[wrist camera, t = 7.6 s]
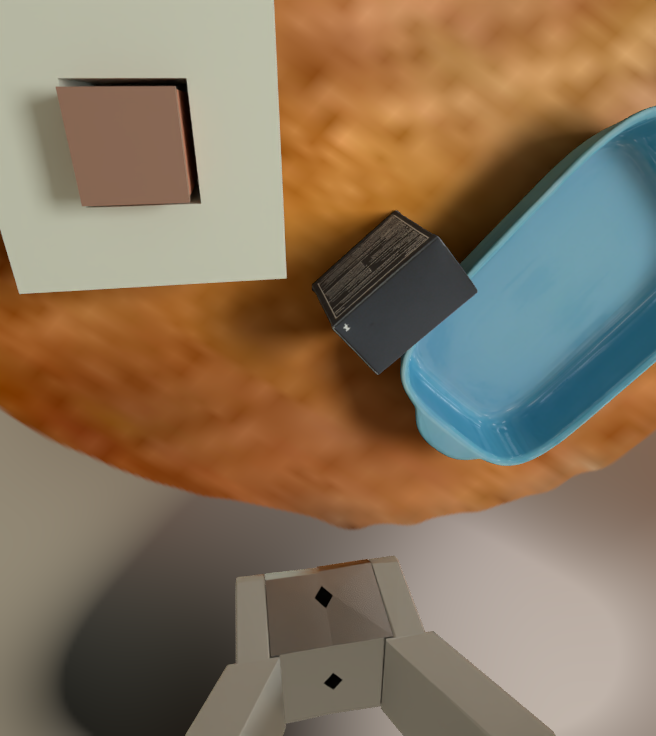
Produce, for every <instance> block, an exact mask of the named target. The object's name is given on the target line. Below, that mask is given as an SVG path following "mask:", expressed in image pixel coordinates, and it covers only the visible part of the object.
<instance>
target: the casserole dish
mask: <svg viewBox="0 0 656 736" xmlns="http://www.w3.org/2000/svg"><path fill="white" fill-rule="evenodd" d="M460 266H461V267H462V268H463V270H464V271H465V272H466V274H467V275H468V277H469V278H470V279H471V281H472V282H473V284H474V285H475V287H476V288H477V290H478V292H477V293H476V294H475V295H474V296H473V297H472V298H470V299H469V300H468V301H467V302H465V303H464V304H463V305H462V306H461V307H459V308H458V309H457V310H456V311H455V312H453V313H452V314H451V315H450V316H449V317H447V318H446V319H445V320H444V321H443V322H441V323H440V324H439V325H438V326H436V327H435V328H434V329H433V330H432V331H430V332H429V333H428V334H427V335H426V336H424V337H423V338H422V339H421V340H420V341H418V342H417V343H416V344H415V345H414V346H412V347H411V348H410V349H409V350H408V351H406V352H405V353H404V354H403V355H402V356H401V368H400V375H401V381H402V385H403V388H404V390H405V392H406V394H407V395H408V397H409V399H410V400H411V402H412V403H413V405H414V406H415V414H416V425H417V428H418V430H419V432H420V434H421V436H422V437H423V438H424V440H425V441H426V442H427V443H428V444H430V445H431V446H432V447H434V448H435V449H436V450H438V451H439V452H441V453H442V454H444V455H446V456H448V457H451V458H454V459H460V460H470V459H483V460H485V461H487V462H490V463H493V464H497V465H503V466H511V465H518V464H521V463H525V462H527V461H530V460H532V459H534V458H536V457H538V456H540V455H542V454H544V453H545V452H547V451H549V450H550V449H552V448H553V447H554V446H556V445H557V444H559V443H560V442H561V441H563V440H564V439H565V438H567V437H568V436H569V435H570V434H572V433H573V432H574V431H575V430H576V429H578V428H579V427H580V426H581V425H582V424H584V423H585V422H586V421H587V420H588V419H590V418H591V417H592V416H593V415H594V414H596V413H597V412H598V411H599V410H600V409H601V408H602V407H604V406H605V405H606V404H607V403H608V402H609V401H611V400H612V399H613V398H614V397H615V396H616V395H617V394H619V393H620V392H621V391H622V390H623V389H624V388H626V387H627V386H628V385H629V384H630V383H631V382H633V381H634V380H635V379H636V378H637V377H639V376H640V375H641V374H642V373H643V372H644V371H646V370H647V369H648V368H649V367H650V366H651V365H653V364H654V363H655V362H656V106H654V107H650V108H647V109H644V110H642V111H639V112H637V113H635V114H633V115H631V116H629V117H628V118H626V119H624V120H623V121H621V122H619V123H617V124H615V125H613V126H610V127H608V128H606V129H604V130H603V131H601V132H599V133H597V134H596V135H594V136H592V137H591V138H589V139H588V140H586V141H585V142H583V143H582V144H581V145H580V146H578V147H577V148H576V149H574V150H573V151H572V152H571V153H569V154H568V155H567V156H566V157H565V158H564V159H563V160H561V161H560V162H559V163H558V164H557V165H556V166H555V167H554V168H553V169H552V170H551V171H550V172H549V173H548V174H547V175H546V176H545V177H544V178H542V179H541V180H540V182H539V183H538V184H537V185H536V186H535V187H534V188H533V189H532V190H531V191H530V192H529V193H528V194H527V195H526V196H525V197H524V198H523V199H522V200H521V201H520V202H519V203H518V204H517V205H516V206H515V207H514V208H513V209H512V210H511V211H510V212H509V213H508V215H507V216H506V217H505V218H504V219H503V220H502V221H501V222H500V223H499V224H498V225H497V226H496V227H495V228H494V229H493V230H492V231H491V232H490V233H489V234H488V235H487V236H486V237H485V238H484V239H483V240H482V241H481V242H480V244H479V245H478V246H477V247H476V248H475V249H474V250H473V251H472V252H471V253H470V254H469V255H468V256H467V257H466V258H465V259H464V260H463V261H462V262H461V263H460Z"/></svg>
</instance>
